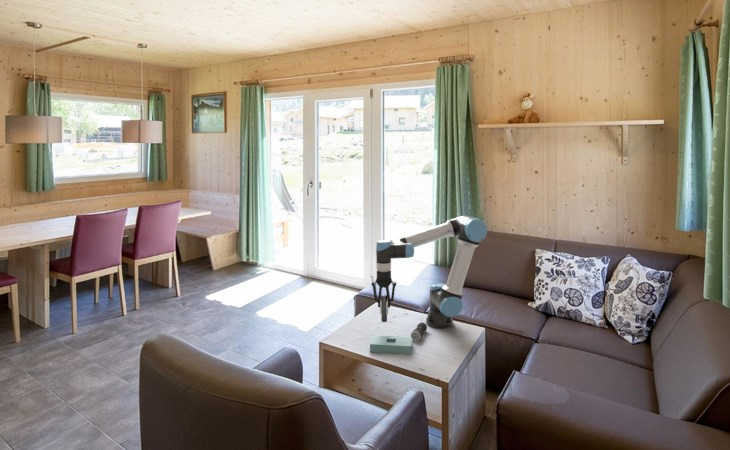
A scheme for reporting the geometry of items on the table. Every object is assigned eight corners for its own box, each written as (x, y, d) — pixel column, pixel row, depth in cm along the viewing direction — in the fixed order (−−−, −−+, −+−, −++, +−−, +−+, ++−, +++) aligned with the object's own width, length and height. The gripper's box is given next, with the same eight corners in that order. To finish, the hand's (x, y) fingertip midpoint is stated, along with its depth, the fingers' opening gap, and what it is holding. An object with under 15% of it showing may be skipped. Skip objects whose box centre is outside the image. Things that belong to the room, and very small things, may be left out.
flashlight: (418, 330, 245) (418, 320, 244) (427, 331, 243) (427, 322, 242) (410, 340, 231) (410, 330, 230) (420, 342, 229) (420, 332, 228)
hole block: (411, 344, 226) (411, 337, 226) (410, 354, 215) (410, 346, 215) (372, 342, 229) (372, 335, 228) (370, 351, 218) (370, 344, 218)
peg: (387, 320, 236) (387, 294, 233) (386, 322, 233) (386, 296, 230) (381, 320, 236) (381, 294, 234) (381, 322, 233) (381, 296, 231)
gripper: (399, 268, 232) (399, 311, 236) (369, 267, 234) (370, 310, 238) (398, 272, 225) (398, 316, 229) (367, 271, 227) (368, 315, 231)
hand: (384, 313), depth 234 cm, fingers closed on peg, 2 cm apart
